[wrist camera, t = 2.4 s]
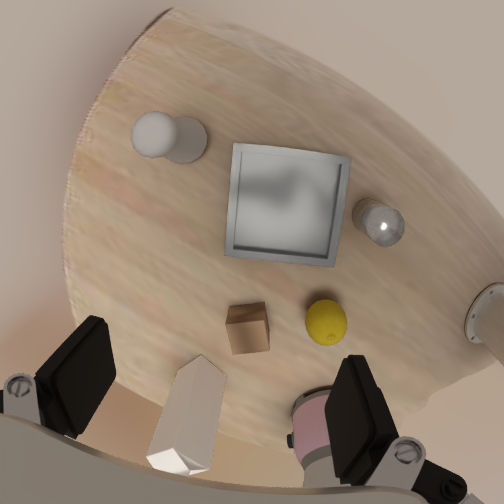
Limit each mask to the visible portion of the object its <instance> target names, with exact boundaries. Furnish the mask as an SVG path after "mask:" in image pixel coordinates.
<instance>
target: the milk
mask: <svg viewBox="0 0 504 504" xmlns="http://www.w3.org/2000/svg"><path fill="white" fill-rule="evenodd" d="M225 382H226V375H225V374H224V373H222V372H221V371H220V370H219V369H218V368H216V367H215V366H214V365H213V364H212V363H210V362H209V361H208V360H207V359H206V358H205V357H204V356H202V355H200V356H199V357H197V358H196V359H194V360H193V361H191V362H189V363H188V364H186V365H185V366H183V367H182V368H180V369H179V370H178V372H177V375H176V377H175V380H174V382H173V385H172V388H171V390H170V393H169V396H168V398H167V401H166V404H165V406H164V409H163V412H162V414H161V417H160V420H159V422H158V425H157V428H156V430H155V433H154V436H153V439H152V442H151V444H150V447H149V450H148V453H147V455H146V458H147V459H148V461H149V462H150V463H151V465H152V466H153V468H154V469H158V470H162V471H166V472H170V473H174V474H179V475H183V476H188V477H189V475H191V474H195V473H199V472H202V471H206V470H209V469H210V466H211V461H212V455H213V450H214V444H215V438H216V433H217V427H218V421H219V416H220V410H221V404H222V399H223V393H224V387H225Z"/></svg>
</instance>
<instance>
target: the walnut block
mask: <svg viewBox="0 0 504 504" xmlns="http://www.w3.org/2000/svg"><path fill="white" fill-rule="evenodd" d="M225 325H226V329H227V333H228V337H229V341H230V345H231V349H232V352H233V355H234V354H245V353H255V352H264V351H270V346H269V326H268V320H267V314H266V308H265V302H261V303H253V304H245V305H237V306H230V307H229V311H228V316H227V320H226V324H225Z"/></svg>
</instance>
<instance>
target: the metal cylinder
mask: <svg viewBox="0 0 504 504" xmlns="http://www.w3.org/2000/svg"><path fill="white" fill-rule="evenodd" d="M352 220H353V223H354V224H355V226H356V227H357V228H358V229H359V230H361V231H362V232H363V233H364V234H366V235H367V236H368V237H369V238H370V239H372V240H373V241H374V242H375V243H376V244H378V245H380V246H383V247H388V246H392V245H394V244H395V243H397V242H398V241H399V240H400V238H401V237H402V235H403V232H404V226H405V225H404V219H403V217H402V215H401V214H400V213H399V212H398V211H397V210H395V209H393V208H391V207H389V206H386V205H384V204H382V203H380V202H377V201H375V200H373V199H363V200H361V201H359V202H358V203H357V204H356V205H355V207H354V209H353V212H352Z"/></svg>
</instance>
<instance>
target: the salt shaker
mask: <svg viewBox="0 0 504 504" xmlns="http://www.w3.org/2000/svg"><path fill="white" fill-rule="evenodd" d="M131 141H132V144H133V147H134V149H135V150H136V151H137V152H138V153H139V154H140V155H142V156H145V157H149V158H157V157H161V156H164V157H166V158H167V159H169V160H170V161H172V162H175V163H178V164H185V163H190V162H193V161H194V160H196V159H197V158H199V157H200V156H201V155H202V153H203V151H204V149H205V148H206V144H207V134H206V131H205V129H204V126H203V125H202V124H201V123H200V122H198V121H197V120H196V119H193V118H189V117H180V118H174V119H173V118H172V117H171V116H170V115H169V114H167V113H164V112H159V111H153V112H149V113H145V114H144V115H142V116H141V117H140V118H139V119H137V120H136V122H135V124H134V126H133V128H132V132H131Z"/></svg>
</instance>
